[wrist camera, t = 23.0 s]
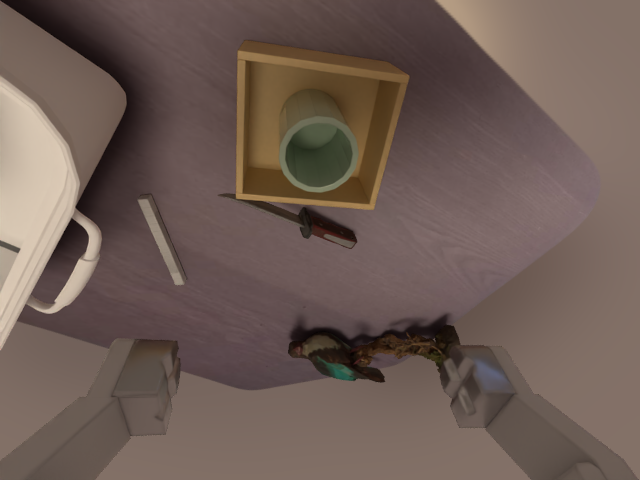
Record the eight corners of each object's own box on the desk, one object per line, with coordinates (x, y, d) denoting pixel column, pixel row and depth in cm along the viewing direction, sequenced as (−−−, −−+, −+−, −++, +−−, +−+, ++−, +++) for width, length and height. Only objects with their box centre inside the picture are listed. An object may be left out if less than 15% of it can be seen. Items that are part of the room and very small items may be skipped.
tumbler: (281, 84, 32) (282, 111, 25) (346, 93, 33) (366, 121, 26) (276, 148, 36) (276, 189, 28) (335, 154, 37) (350, 195, 29)
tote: (244, 39, 30) (237, 50, 25) (388, 61, 33) (410, 75, 27) (241, 169, 37) (235, 199, 32) (360, 180, 39) (373, 210, 34)
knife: (221, 178, 38) (214, 200, 34) (226, 168, 37) (219, 189, 33) (348, 239, 44) (356, 264, 40) (355, 231, 43) (363, 256, 39)
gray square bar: (175, 285, 44) (178, 279, 45) (184, 284, 44) (186, 279, 45) (137, 199, 37) (140, 195, 38) (147, 198, 37) (150, 194, 38)
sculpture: (480, 365, 44) (282, 364, 44) (447, 390, 55) (290, 389, 56) (464, 305, 49) (286, 304, 49) (437, 339, 60) (293, 339, 60)
